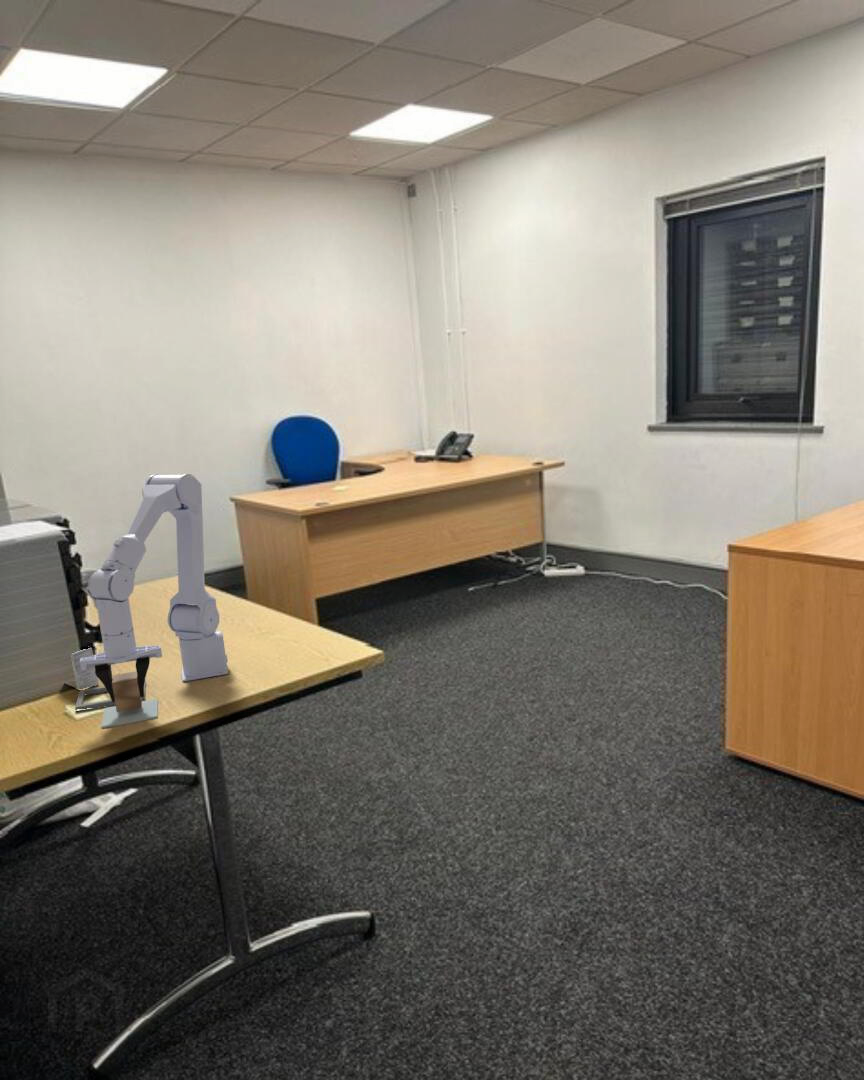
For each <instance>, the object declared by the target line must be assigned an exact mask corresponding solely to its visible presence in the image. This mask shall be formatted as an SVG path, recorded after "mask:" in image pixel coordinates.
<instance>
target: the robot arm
mask: <svg viewBox="0 0 864 1080" xmlns="http://www.w3.org/2000/svg"><path fill="white" fill-rule="evenodd" d="M141 494H142V498H143V499H142V501H141V503H140V505H139V508H138V510H137V512H136V514H135V516H134V519H133V521H132V523H131V525H130V527H129V529H128V532H127V534H125V535H122V536H119V537H118V538H117V539H115V541H114V543H113V547H112V548H111V550H110V552H109V554H108V555H107V557H106V559H105V561H104V562H103V564H102V566H101V568H100V569H97V570H96V571H95V572H93V573H92V574H91V575H90V577H89V579H88V581H87V587H86V588H85V590H86V593H87V595H88V597H89V598H90V599H91V600H92V602H93V606H94V607H95V608H96V610H97V617H98V621H99V627H100V634H101V639H102V644H103V652H101V653H97V654H93V656H89V657H84V658H81V659H80V666H81V671H83V670H87V669H88V668H94V667H95V674H96V676H97V678H98V680H99V681H100V682H101V683H102V684H103V686H105V688H106V689H107V691H108V692H107V693H108V694H109V697H110V699H111V700H112V702H115V699H114V693H113V687H112V680H113V673H112V672H113V671H112V665H117V664H122V663H123V664H124V663H129V662H135V671H137V676H138V681H139V692H140V697H144V683H145V680H146V678H147V673H148V670H149V668H150V660H151V659H152V658H153V659H154V658H156V659H160V658H163V652H162V651H163V650H162V646H161V644H159V645H146V646H137V643H136V636H135V630H134V625H133V618H132V611H131V605H130V596H131V595H132V594H133V593H134V590H135V578H136V571H137V569H138V567H139V565H140V563H141V561H142V560H143V558H144V557H145V554H146V552H147V548H146V545H145V542H146V540H147V539H148V537H149V536H150V534H151V533H152V531H153V529H154V528H155V526H156V524H158V522H159V519H160V518H161V517H162V515H163V514H164V513H167V512H169V514H170V515H172V516H173V517H174V518H175V520H176V522H175V523H176V547H177V548H176V551H177V553H176V554H177V578H178V579H177V581H178V582H177V586H178V591H177V592H176V593H175V594H174V595H173V596H172V597H171V599H169V603H170V604H169V610H168V614H167V624H168V627H169V629H170V630H171V631H172V632H173V633H174V635H175V637H178V642H179V649H180V657H181V663H182V668H181V680H182V682H188V681H189V682H190V681H195V680H200V679H205V678H210V677H217V676H222V675H227V674H228V673H229V671H228V664H227V663H228V662H229V661H228V655H227V654H226V648H225V641H224V636H223V631H222V630H217V629H218V627H219V624H220V612H219V610H218V607H217V599H216V598H215V597H214V596H213V595H212V594H210V593H209V592H208V591H207V590H206V587H205V556H204V551H205V550H204V522H203V517H204V516H203V500H202V499H203V493H202V483H201V482H200V481H199V480H198V479H197V477H195V475H193V474H191V473H184V474H152V475H150V476H149V477H148V478H147V479H146V482H145V484H144V485H143V487H142V489H141Z"/></svg>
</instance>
